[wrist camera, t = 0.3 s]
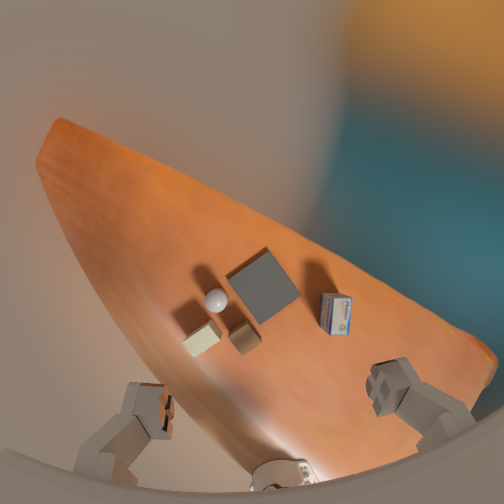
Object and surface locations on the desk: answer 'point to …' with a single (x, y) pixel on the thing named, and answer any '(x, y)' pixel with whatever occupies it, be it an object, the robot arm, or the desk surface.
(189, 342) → the sage brick
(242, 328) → the walnut cube
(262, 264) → the charcoal pad
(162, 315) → the desk surface
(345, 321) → the medicine box
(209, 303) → the grey plastic egg
